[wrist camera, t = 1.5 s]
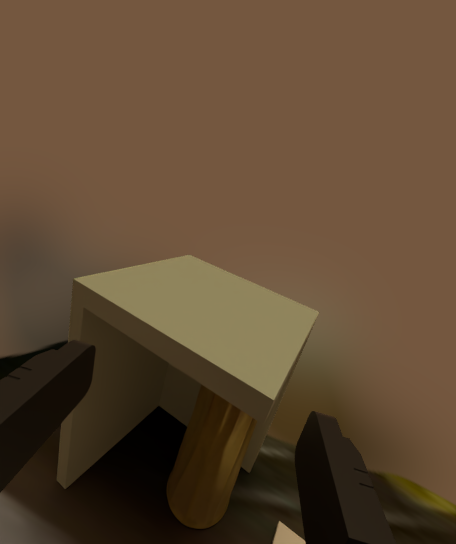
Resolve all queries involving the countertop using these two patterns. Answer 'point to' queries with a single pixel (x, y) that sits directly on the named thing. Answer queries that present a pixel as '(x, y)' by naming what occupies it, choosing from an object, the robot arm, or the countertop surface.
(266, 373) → the shelf nook
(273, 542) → the tile
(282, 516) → the countertop surface
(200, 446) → the vase
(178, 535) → the countertop surface
